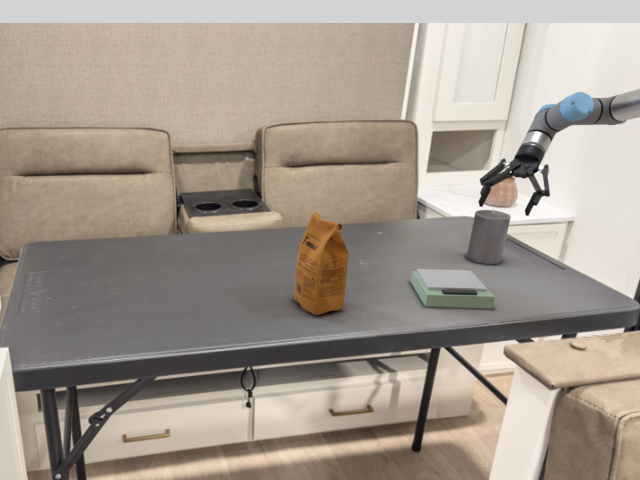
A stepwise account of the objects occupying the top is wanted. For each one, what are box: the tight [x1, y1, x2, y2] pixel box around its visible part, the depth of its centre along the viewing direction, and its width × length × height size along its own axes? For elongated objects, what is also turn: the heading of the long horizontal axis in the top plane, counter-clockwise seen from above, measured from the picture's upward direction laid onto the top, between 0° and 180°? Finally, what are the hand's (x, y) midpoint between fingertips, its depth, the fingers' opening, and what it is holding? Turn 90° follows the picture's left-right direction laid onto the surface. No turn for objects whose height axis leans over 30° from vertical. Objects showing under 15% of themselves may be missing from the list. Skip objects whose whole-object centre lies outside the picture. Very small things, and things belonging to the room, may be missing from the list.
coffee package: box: [294, 211, 350, 316], centre depth 136 cm, size 10×12×22 cm
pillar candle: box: [466, 209, 512, 265], centre depth 169 cm, size 10×10×15 cm
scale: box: [410, 268, 496, 310], centre depth 147 cm, size 16×16×4 cm
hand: (502, 208), depth 171 cm, fingers open, 13 cm apart
